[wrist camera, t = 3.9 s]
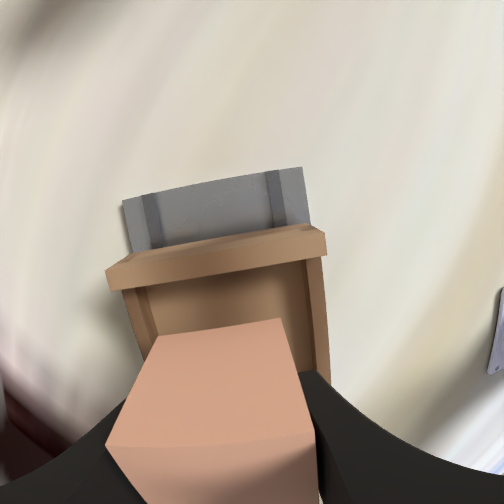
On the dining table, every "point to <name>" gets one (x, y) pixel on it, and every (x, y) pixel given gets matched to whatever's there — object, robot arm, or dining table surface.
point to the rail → (217, 209)
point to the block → (218, 421)
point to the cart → (232, 289)
